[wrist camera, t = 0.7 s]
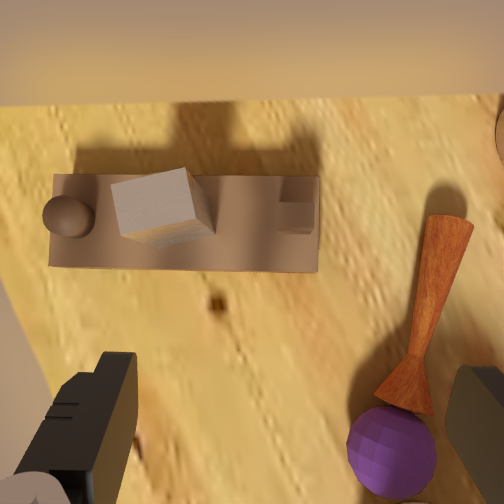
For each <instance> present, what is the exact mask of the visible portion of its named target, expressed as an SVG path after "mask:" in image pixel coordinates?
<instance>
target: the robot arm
mask: <svg viewBox="0 0 504 504" xmlns="http://www.w3.org/2000/svg"><path fill="white" fill-rule="evenodd" d="M496 144H497V150H498V153H499V155H500V158H501V160H502V163H503V164H504V108H503V110H502V111H501V113H500V115H499V119H498V122H497V126H496ZM137 417H138V376H137V355H136V353H135V352H106V351H105V352H103V354H102V355H101V358H100V360H99V362H98V364H97V366H96V368H95V370H94V373H90V372H78V373H77V374H76V375H75V376H73V377H72V378H71V379H70V380H68V381H67V382H66V383H65V384H64V385H62V386H61V388H60V390H59V392H58V394H57V396H56V397H55V399H54V401H53V405H52V406H51V407H50V409H49V410H48V412H47V414H46V416H45V420H43V421H42V423H41V425H40V427H39V429H38V431H37V432H36V434H35V436H34V438H33V440H32V441H31V443H30V445H29V447H28V449H27V451H26V452H25V454H24V456H23V458H22V460H21V462H20V464H19V465H18V467H17V469H16V471H15V472H14V474H13V475H12V476H10V477H7V478H5V479H3V480H1V481H0V504H116V501H117V497H118V493H119V490H120V486H121V482H122V479H123V475H124V471H125V468H126V464H127V460H128V456H129V453H130V449H131V445H132V442H133V438H134V434H135V430H136V425H137ZM445 426H446V432H447V435H448V438H449V440H450V442H451V444H452V446H453V447H454V449H455V451H456V452H457V454H458V456H459V457H460V459H461V461H462V463H463V464H464V466H465V468H466V469H467V471H468V473H469V474H470V476H471V478H472V479H473V481H474V483H475V484H476V486H477V488H478V490H479V491H480V493H481V495H482V496H483V498H484V500H485V501H486V503H487V504H504V374H503V373H502V372H501V371H500V370H499V369H498V368H497V367H495V366H485V365H462V366H461V367H460V368H459V369H458V371H457V375H456V378H455V382H454V386H453V389H452V393H451V397H450V400H449V404H448V408H447V412H446V417H445Z"/></svg>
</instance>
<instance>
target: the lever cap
mask: <svg viewBox="0 0 504 504" xmlns="http://www.w3.org/2000/svg"><path fill="white" fill-rule="evenodd" d="M111 190H112V195H113V200H114V205H115V210H116V215H117V220H118V225H119V230H120V235H121V236H123V237H126V238H129V239H132V240H135V241H138V242H141V243H144V244H147V245H150V246H153V247H156V248H160V247H164V246H169V245H173V244H177V243H182V242H186V241H190V240H195V239H199V238H203V237H208V236H212V235H216V234H215V229H214V225H213V220H212V216H211V211H210V206H209V202H208V197H207V195H206V193H205V192H204V191H203V190H202V188H201V187H200V186H199V184H198V183H197V182H196V181H195V179H194V178H193V177H192V175H191V174H190V173H189V172H188V170H187V169H186V168H185V167H183V168H179V169H174V170H170V171H166V172H157V173H151V174H148V175H145V176H143V177H141V178H137V179H132V180H128V181H124V182H120V183H116V184H111Z"/></svg>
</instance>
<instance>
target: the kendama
mask: <svg viewBox="0 0 504 504" xmlns="http://www.w3.org/2000/svg"><path fill="white" fill-rule="evenodd" d="M473 229H474V225H473V224H472V223H471V222H469V221H467V220H464V219H462V218H458V217H455V216H449V215H430V216H429V217H427V222H426V229H425V236H424V243H423V250H422V257H421V264H420V271H419V278H418V285H417V292H416V299H415V306H414V313H413V320H412V326H411V333H410V340H409V347H408V354H407V355H406V356H405V358H404V359H403V360H402V361H401V362H400V363H399V364H398V366H397V367H396V368H395V369H394V370H393V371H392V373H391V374H390V375H389V376H388V377H387V378H386V379H385V381H384V382H383V383H382V384H381V385H380V386H379V388H378V389H377V390H376V391H375V392H374V393H373V395H375V396H376V397H378V398H380V399H382V400H384V401H386V402H388V403H389V404H391V405H388V406H376V407H374V408H372V409H370V410H368V411H366V412H364V413H362V414H361V415H360V416H359V417H358V418H357V420H356V421H355V422H354V423H353V425H352V426H351V428H350V432H349V435H348V439H347V443H346V445H347V453H348V461H349V463H350V465H351V467H352V469H353V471H354V473H355V475H356V477H357V479H358V481H359V482H361V483H362V484H363V485H364V486H365V487H367V488H368V489H369V490H370V491H371V492H372V493H374V494H376V495H378V496H380V497H383V498H389V499H407V498H409V497H411V496H414V495H416V494H418V493H421V491H422V490H423V489H424V488H425V486H426V485H427V484H428V483H429V482H430V480H431V479H432V477H433V473H434V469H435V465H436V461H437V455H436V448H435V442H434V439H433V437H432V435H431V433H430V432H429V430H428V428H427V426H426V425H425V423H424V422H423V421H421V420H420V419H419V418H418V417H417V416H415V415H414V414H413V413H412V412H416V413H421V414H426V415H431V416H433V415H434V414H433V409H432V403H431V398H430V393H429V387H428V382H427V377H426V372H425V366H424V361H423V358H424V355H425V353H426V350H427V347H428V345H429V342H430V340H431V337H432V335H433V332H434V329H435V327H436V324H437V322H438V319H439V317H440V314H441V311H442V309H443V306H444V304H445V301H446V299H447V296H448V293H449V291H450V288H451V286H452V283H453V281H454V278H455V275H456V273H457V270H458V268H459V265H460V263H461V260H462V257H463V255H464V252H465V250H466V247H467V245H468V242H469V239H470V237H471V234H472V232H473Z"/></svg>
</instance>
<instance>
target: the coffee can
mask: <svg viewBox="0 0 504 504" xmlns="http://www.w3.org/2000/svg"><path fill="white" fill-rule="evenodd" d="M398 504H428V503H422V502H405V503H398Z"/></svg>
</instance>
